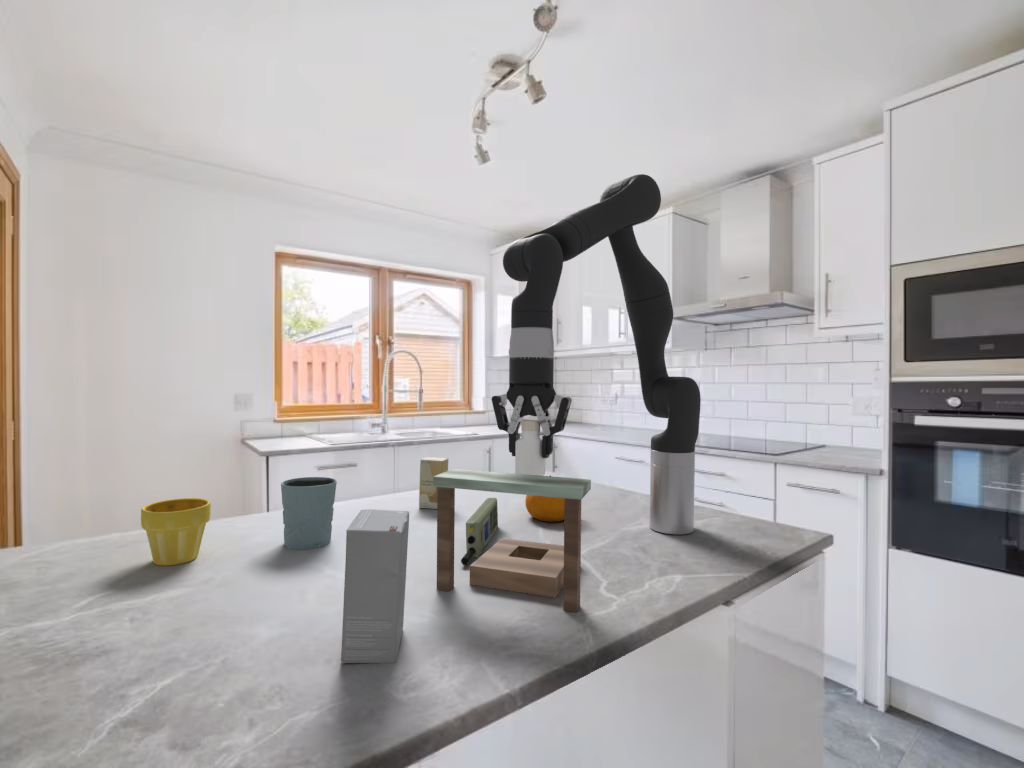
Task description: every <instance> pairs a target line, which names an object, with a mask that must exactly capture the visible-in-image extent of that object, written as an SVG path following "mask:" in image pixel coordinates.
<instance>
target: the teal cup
mask: <svg viewBox="0 0 1024 768" xmlns="http://www.w3.org/2000/svg"><path fill="white" fill-rule="evenodd" d="M280 488H281V489H280V491H281V492H280V493H281V504H282V509H283V510H282V521H283V523H282V524H283V525H284V527H283V542H284V543H283V544H284V546H285V547H286V548H287V549H291V550H309V548H311V549H316V548H315V547H317V548H320V547H323V546H326V545H327V543H328V544H329V543H330V542H331V540H332V531H333V527H332V526H333V525H332V522H333V519H334V511H335V509H334V505H335V500H336V492H337V490H336V489H337V479H335V478H332V477H325V476H323V477H322V476H321V477H320V476H311V477H310V476H307V477H297V478H291V479H286V480H283V481H282V482H280ZM325 544H326V545H325ZM322 545H323V546H322ZM319 546H320V547H319Z"/></svg>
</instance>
